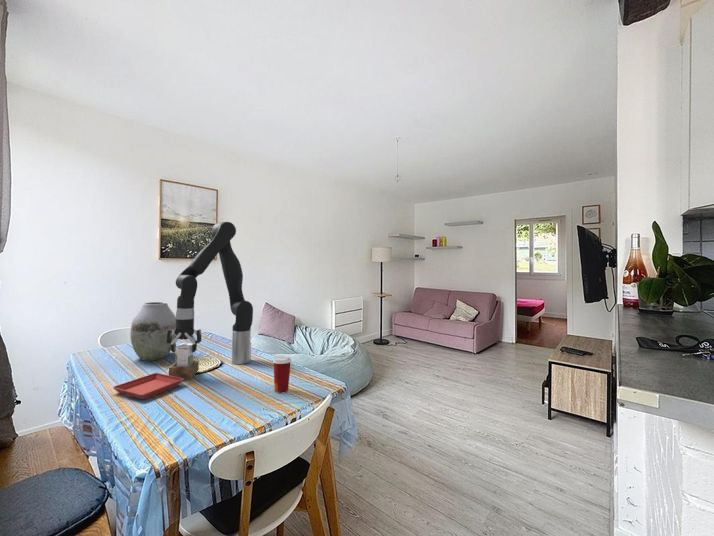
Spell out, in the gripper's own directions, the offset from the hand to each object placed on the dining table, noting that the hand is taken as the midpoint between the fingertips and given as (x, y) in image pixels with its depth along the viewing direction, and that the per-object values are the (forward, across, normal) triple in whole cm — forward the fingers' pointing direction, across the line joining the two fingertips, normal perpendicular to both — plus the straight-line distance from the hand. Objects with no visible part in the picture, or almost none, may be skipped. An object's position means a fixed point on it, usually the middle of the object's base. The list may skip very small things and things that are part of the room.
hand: (183, 352), depth 143 cm
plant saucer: (+12, +8, +15) cm, 20 cm away
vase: (+11, +26, -30) cm, 41 cm away
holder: (+11, 0, 0) cm, 11 cm away
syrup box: (+11, 0, 0) cm, 11 cm away
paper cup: (+11, -46, +22) cm, 52 cm away
